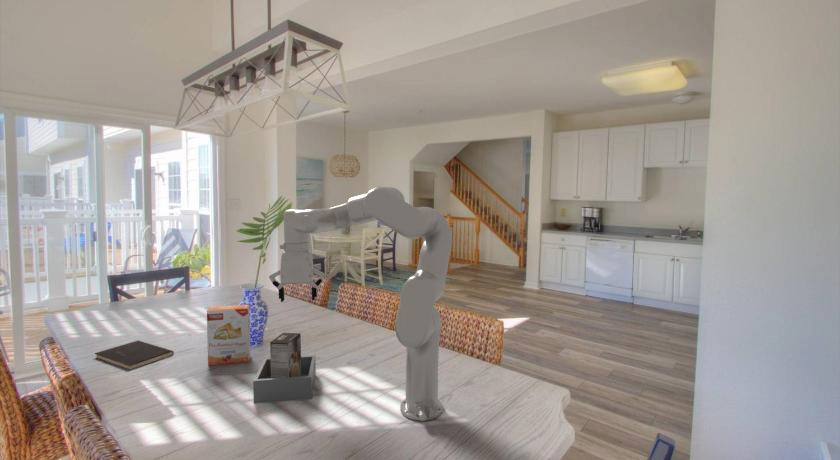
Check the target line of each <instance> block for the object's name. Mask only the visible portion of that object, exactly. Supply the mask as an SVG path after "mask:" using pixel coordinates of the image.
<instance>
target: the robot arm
mask: <svg viewBox="0 0 840 460" xmlns="http://www.w3.org/2000/svg"><path fill="white" fill-rule="evenodd" d="M375 221H377V222H380V224H381V223H382V224H383V225H384V226H386V227H387V228H389V229H390V230H392V231H393V232H396V233H397V234H398V235H400V236H402V237H404V238H406V239H411V240H417V239H421V238H422V246H421V248H420V252H419V255H418V262H417V267H416V272H415V273H414V274H413V275H411V276H410V277H408V279H407V280H406V281H405V282H404V284H403V286H402V287H401V291H400V296H399V302H398V309H397V312H396V313H397V314H396V320H395V328H394V330H395V335H396V338H397V340H398V342H399V343H400V344H401V345H402V346H404V347H405V348H406V349H405V350H406V351H405V353H406V354H405V356H406V357H405V399H404V400H402V401H401V403H400V406H399V407H400V408H399V409H400V412H401V414H402V416H404V417H405V418H407V419H409V420H414V421H422V422H424V421H430V420H434V419H437V418H439V417H440V415H442V413H443V411H444V409H443V407H444V406H443V403H442V402H441V400H438V399H439V359H440V358H439V357H440V355H439V353H440V352H439V351H440V339H441V330H442V318H441V315H440V314H441V313H440V312H439V310H438V309H437V307H436V306H435V303H436V302H437V301H439V300H440V298H442V296H443V294H444V292H445V287H446V279H447V273H448V268H449V263H450V262H449V261H450V255H451V250H452V241H453V233H452V228H451V226H450V224H449V221H448V219H447V218H446V217H445V216H444V215H443V214H442V213H441V212H440V211H438V210H437V209H434V208H433V207H429V206H416V207H415V206H414V205H412V204H411V203H408V202H406V198H405V196H404V195H403V193H402V191H401V190H399V189H398V188H396V187H391V186H390V187H389V186H376V187H374V188H372V189H369V191H368V192H367V193H362V194H359V195H356V196H351V197H350V198H349V199H348V200H347V202H346V203H343V204H340V205H336V206H333V207H331V206H330V207H327V208H312V209H299V208H298V209H296V208H295V209H286V210H285V211H284V212H283V236H284V237H283V239H284V241H283V243H282V244H279V249H280V250H281V249H282V250H283V252H282V253H281V257H280V270H278V271H276V272H273V273H272V274H270V275H269V276H268V279H269V280H270V282H271V283H272V285H273V286H274V287H276V289H277V290H278V300H280V303H283V302H284V301H285V288H284V286H285V285H300V284H303V285H304V284H309V285H311V300H312V301H315V298H317V297H318V296H317V295H318V292H317V291H318V290H317V289H318V286H319V285H321V283H322V282H323V280H324V279H325V276H326V273H325V272H323V271H321V270H318V269H316V268H314V260H313V254H312V251H310V242H309V241H310V240H309V238H310V237H309V236H310V235H309V234H311V235H313V234H319V233H323V232H324V233H325V232H326V233H327V232H331V231H336V230H339V229H340V230H341V229H344V228H348V227H352V226H359V225H362V224H366V223H370V222H375ZM315 275H317V276H319V278H318V279H317V280H314V278H315ZM278 276H279V277H280V282H279V281H278V280H277V279H276V277H278Z"/></svg>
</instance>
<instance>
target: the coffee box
mask: <svg viewBox="0 0 840 460" xmlns="http://www.w3.org/2000/svg"><path fill="white" fill-rule="evenodd" d="M301 335H302V334H301V333H297V332H296V333H294V332H282V333H281V334H279V335H278V336H277V337H275V338H274V339H272V340H271V341H270V342H269V343H270V345H269V347H270V348H269V349H270V351H269V352H270V358H271V378H284V377H299V376H301V356H302V347H301V346H302V343H301V342H302V341H301Z"/></svg>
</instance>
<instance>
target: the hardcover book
mask: <svg viewBox="0 0 840 460" xmlns="http://www.w3.org/2000/svg"><path fill="white" fill-rule="evenodd" d="M94 355H96V358H97V359H101V360H103V361H106V362H109V363H111V364H114V365H117V366H119V367H121V368H125V369H128V370H133V369H136V368H140V367H141V366H144V365H147V364H150V363H154V362H156V361H158V360H161V359H164V358H168V357H170V356H173V355H174V350H171V349H168V348H165V347H161V346H159V345H155V344H152V343H148V342H145V341H142V340H134V341H131V342H128V343H124V344H121V345H118V346H115V347H111V348H107V349H104V350H101V351H97V352H94Z"/></svg>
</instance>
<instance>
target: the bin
mask: <svg viewBox="0 0 840 460" xmlns="http://www.w3.org/2000/svg"><path fill="white" fill-rule="evenodd" d="M316 359H317V358H316V355H303V356H302V355H301V376H299V377H284V378H271V357H265V358H263V360H262V362H261V363H260V366H259V367H258V370H257V373H256V374H255V376H254V379H253V381H252V387H253V393H252V394H253V404H262V403H274V402H287V401H290V402H291V401H299V400H300V401H302V400H312V399H313V393H314V392H313V391H314V386H315V381H316V376H317V375H316V374H317V373H316V371H317V369H316V365H317V364H316Z"/></svg>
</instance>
